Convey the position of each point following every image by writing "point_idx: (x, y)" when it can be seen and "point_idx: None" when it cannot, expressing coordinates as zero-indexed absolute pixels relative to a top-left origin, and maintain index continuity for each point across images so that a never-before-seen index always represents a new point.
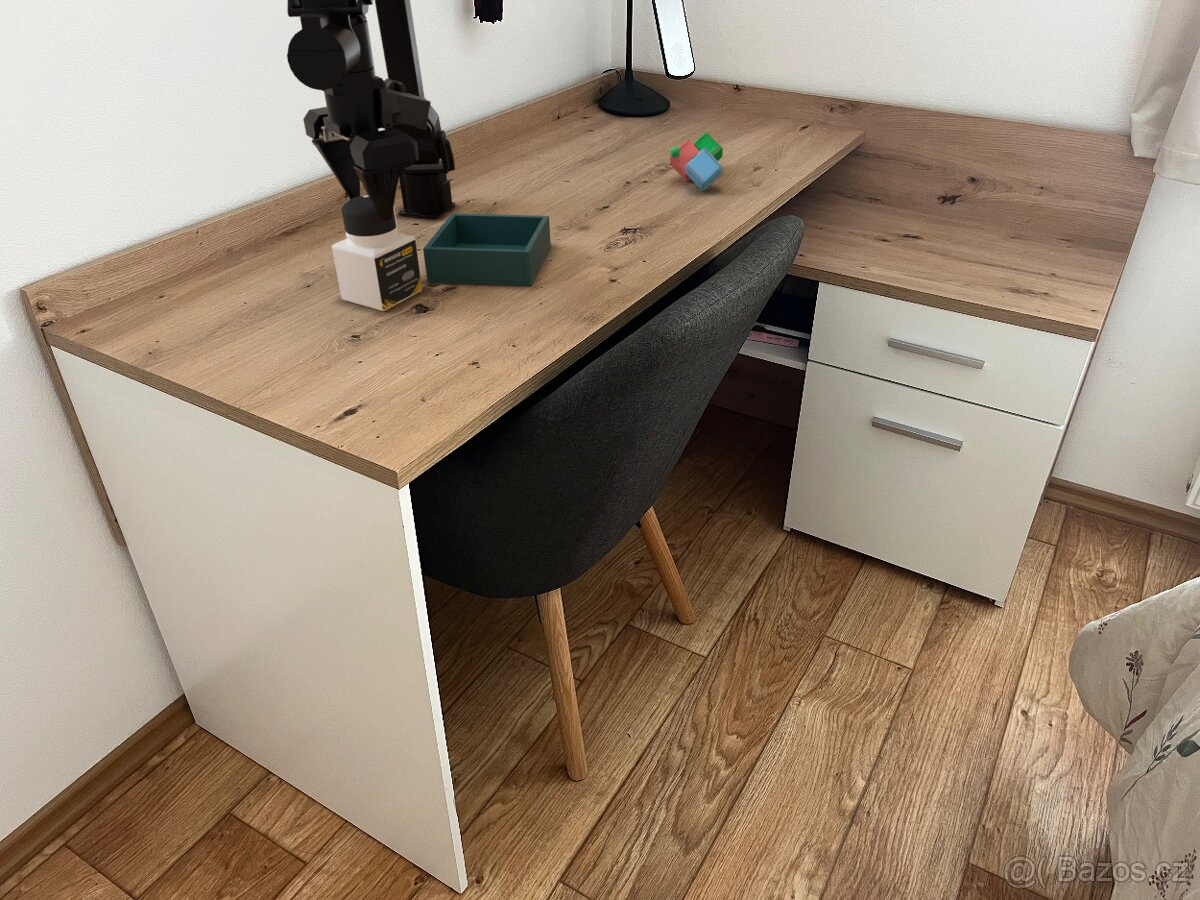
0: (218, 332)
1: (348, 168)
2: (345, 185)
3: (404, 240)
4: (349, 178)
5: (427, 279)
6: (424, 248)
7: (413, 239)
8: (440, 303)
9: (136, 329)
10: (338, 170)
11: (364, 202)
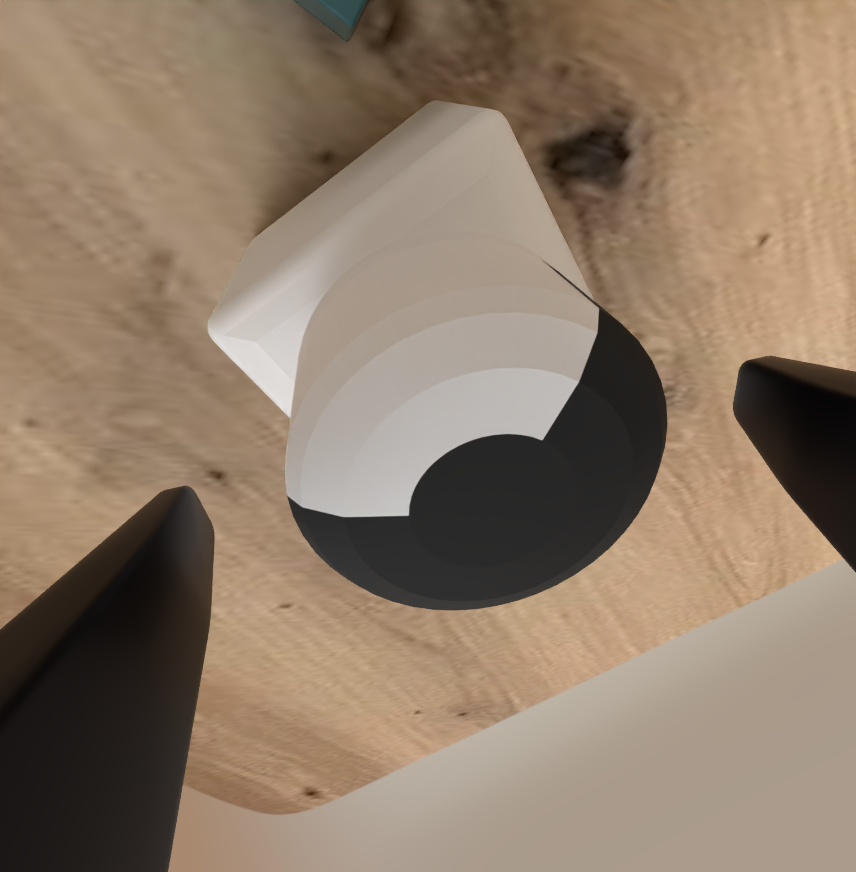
0: (431, 640)
1: (101, 757)
2: (198, 648)
3: (531, 199)
4: (156, 666)
5: (349, 39)
6: (354, 15)
7: (509, 127)
8: (590, 60)
9: (341, 742)
10: (157, 810)
11: (532, 523)
